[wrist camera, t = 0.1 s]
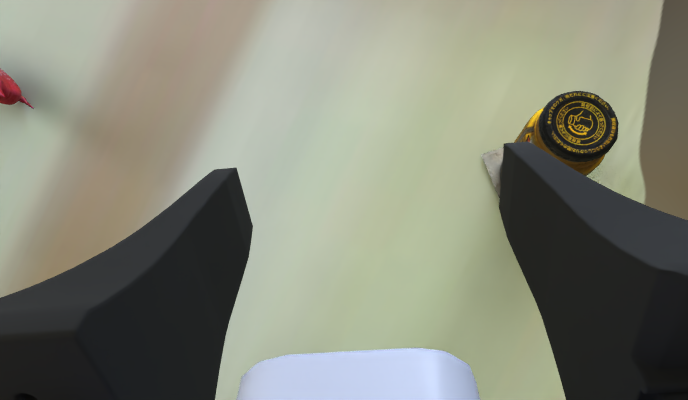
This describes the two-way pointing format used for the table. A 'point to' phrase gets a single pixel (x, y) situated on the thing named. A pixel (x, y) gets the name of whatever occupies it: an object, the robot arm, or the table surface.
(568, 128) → the condiment
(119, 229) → the table surface
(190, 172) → the table surface
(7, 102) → the decorative bird figurine
